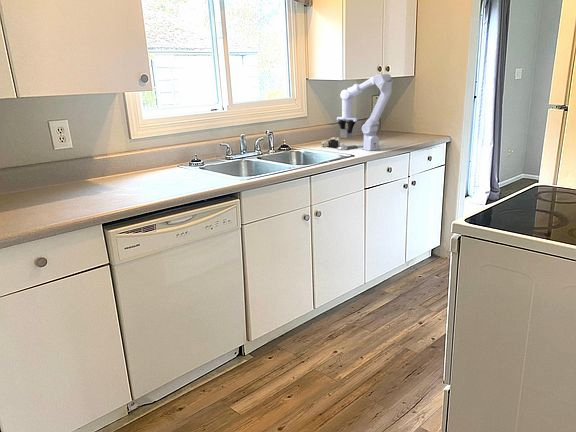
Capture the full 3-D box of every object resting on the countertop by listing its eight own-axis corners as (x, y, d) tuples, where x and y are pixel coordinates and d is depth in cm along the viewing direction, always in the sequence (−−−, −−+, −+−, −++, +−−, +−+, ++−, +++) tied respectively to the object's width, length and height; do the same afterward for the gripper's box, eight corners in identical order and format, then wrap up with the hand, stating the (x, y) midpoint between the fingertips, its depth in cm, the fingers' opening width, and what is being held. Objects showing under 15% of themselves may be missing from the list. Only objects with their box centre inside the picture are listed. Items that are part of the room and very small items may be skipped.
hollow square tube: (351, 137, 287) (351, 128, 285) (346, 137, 283) (346, 129, 282) (345, 136, 290) (345, 128, 288) (340, 137, 287) (340, 128, 285)
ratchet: (341, 150, 277) (341, 144, 276) (335, 149, 282) (335, 142, 281) (358, 148, 283) (359, 141, 282) (353, 147, 288) (353, 140, 287)
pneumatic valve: (322, 145, 299) (341, 144, 297) (320, 149, 288) (340, 148, 286) (322, 137, 297) (340, 136, 295) (320, 140, 287) (339, 139, 284)
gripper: (333, 110, 285) (333, 132, 289) (351, 111, 274) (351, 134, 279) (341, 109, 289) (341, 131, 293) (359, 110, 279) (358, 133, 283)
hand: (346, 132), depth 286 cm, fingers closed on hollow square tube, 5 cm apart
